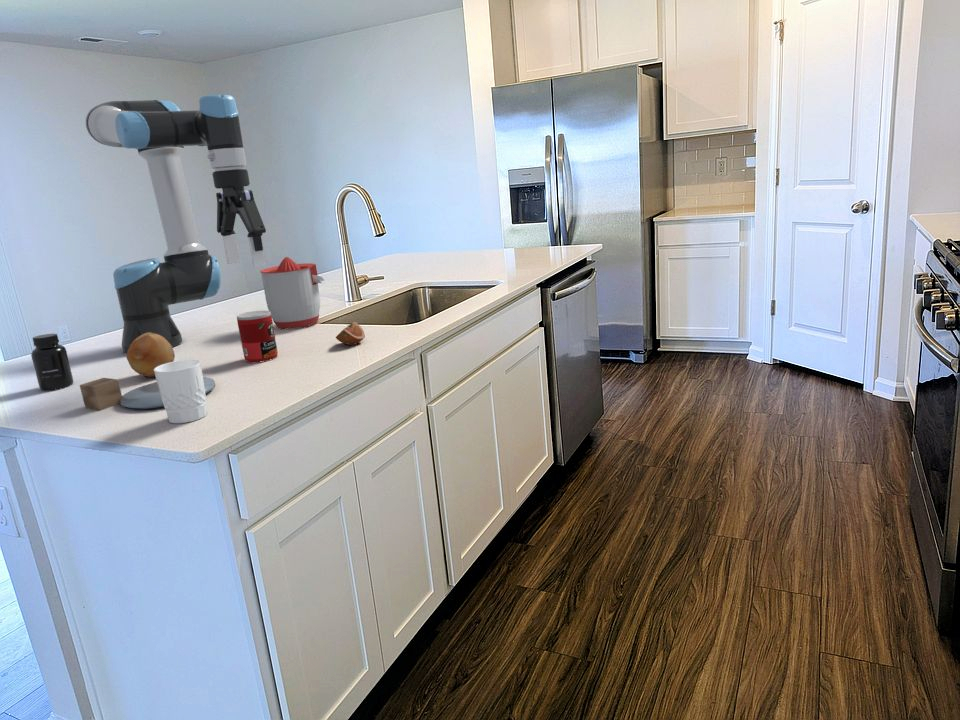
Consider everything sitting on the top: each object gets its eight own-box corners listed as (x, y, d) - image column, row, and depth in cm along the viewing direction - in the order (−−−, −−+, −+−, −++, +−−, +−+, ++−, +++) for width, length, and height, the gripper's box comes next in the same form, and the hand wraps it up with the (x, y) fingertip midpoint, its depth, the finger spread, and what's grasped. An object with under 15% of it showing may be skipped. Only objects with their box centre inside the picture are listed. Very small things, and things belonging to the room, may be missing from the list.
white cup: (174, 412, 131) (162, 362, 128) (216, 407, 131) (206, 357, 128) (158, 427, 123) (146, 373, 120) (203, 422, 124) (192, 368, 121)
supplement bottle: (49, 392, 153) (35, 340, 150) (34, 390, 157) (20, 338, 153) (80, 383, 158) (67, 332, 155) (64, 381, 162) (51, 331, 159)
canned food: (269, 362, 162) (260, 316, 159) (238, 363, 163) (229, 318, 160) (284, 353, 169) (276, 309, 166) (254, 354, 170) (246, 311, 167)
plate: (111, 399, 143) (110, 393, 143) (199, 377, 154) (197, 371, 154) (135, 417, 130) (133, 411, 129) (228, 392, 141) (227, 386, 140)
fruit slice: (357, 348, 167) (354, 328, 166) (331, 349, 169) (328, 329, 168) (369, 339, 175) (366, 320, 174) (344, 340, 177) (342, 321, 175)
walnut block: (85, 408, 139) (79, 385, 138) (108, 400, 143) (103, 377, 142) (100, 411, 136) (94, 386, 135) (123, 402, 141) (117, 379, 139)
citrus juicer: (323, 328, 193) (312, 257, 188) (262, 333, 194) (250, 262, 189) (335, 316, 208) (325, 250, 203) (279, 321, 209) (267, 255, 204)
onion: (132, 374, 162) (123, 333, 159) (178, 366, 166) (169, 326, 163) (130, 384, 153) (120, 341, 151) (178, 376, 157) (169, 333, 154)
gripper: (191, 173, 160) (208, 264, 166) (237, 167, 142) (255, 269, 148) (222, 170, 165) (238, 259, 171) (271, 164, 147) (287, 264, 153)
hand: (246, 264), depth 159 cm, fingers open, 13 cm apart
